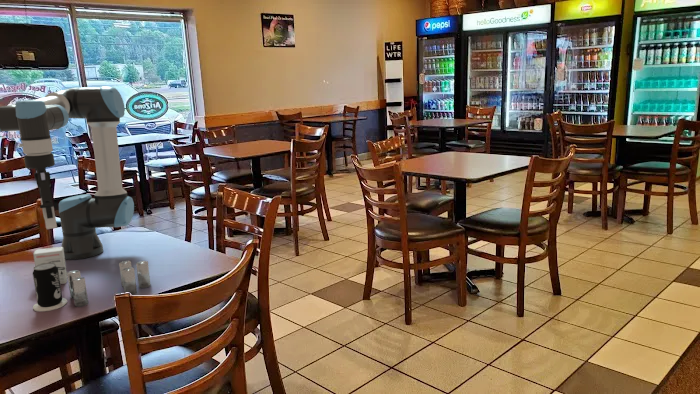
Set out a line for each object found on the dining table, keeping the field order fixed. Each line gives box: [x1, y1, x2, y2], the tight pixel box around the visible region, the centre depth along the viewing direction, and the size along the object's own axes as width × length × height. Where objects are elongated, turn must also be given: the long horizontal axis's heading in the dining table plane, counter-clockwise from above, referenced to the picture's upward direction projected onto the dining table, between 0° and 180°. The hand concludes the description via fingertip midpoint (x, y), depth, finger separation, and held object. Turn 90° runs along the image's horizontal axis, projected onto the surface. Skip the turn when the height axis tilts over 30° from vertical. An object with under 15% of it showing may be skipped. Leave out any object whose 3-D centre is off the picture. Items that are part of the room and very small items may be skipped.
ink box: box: [33, 246, 68, 285], centre depth 173 cm, size 9×5×12 cm, turn 114°
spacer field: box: [67, 260, 151, 308], centre depth 163 cm, size 12×23×8 cm, turn 123°
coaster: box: [32, 297, 68, 313], centre depth 156 cm, size 9×9×1 cm
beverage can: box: [32, 263, 63, 307], centre depth 155 cm, size 7×7×12 cm
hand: (50, 223), depth 156 cm, fingers open, 13 cm apart
